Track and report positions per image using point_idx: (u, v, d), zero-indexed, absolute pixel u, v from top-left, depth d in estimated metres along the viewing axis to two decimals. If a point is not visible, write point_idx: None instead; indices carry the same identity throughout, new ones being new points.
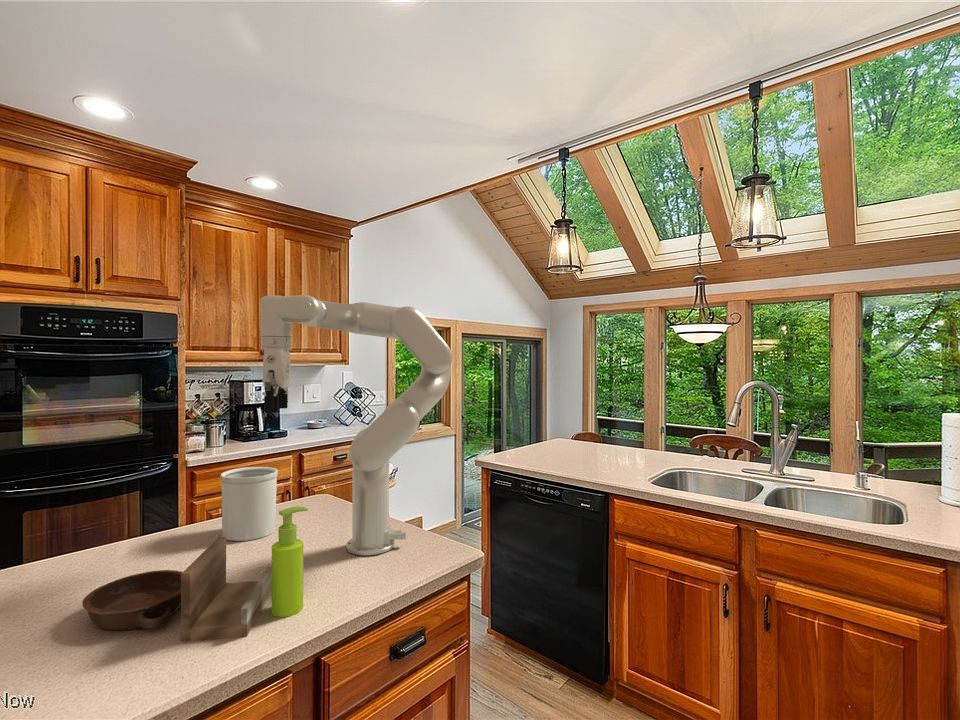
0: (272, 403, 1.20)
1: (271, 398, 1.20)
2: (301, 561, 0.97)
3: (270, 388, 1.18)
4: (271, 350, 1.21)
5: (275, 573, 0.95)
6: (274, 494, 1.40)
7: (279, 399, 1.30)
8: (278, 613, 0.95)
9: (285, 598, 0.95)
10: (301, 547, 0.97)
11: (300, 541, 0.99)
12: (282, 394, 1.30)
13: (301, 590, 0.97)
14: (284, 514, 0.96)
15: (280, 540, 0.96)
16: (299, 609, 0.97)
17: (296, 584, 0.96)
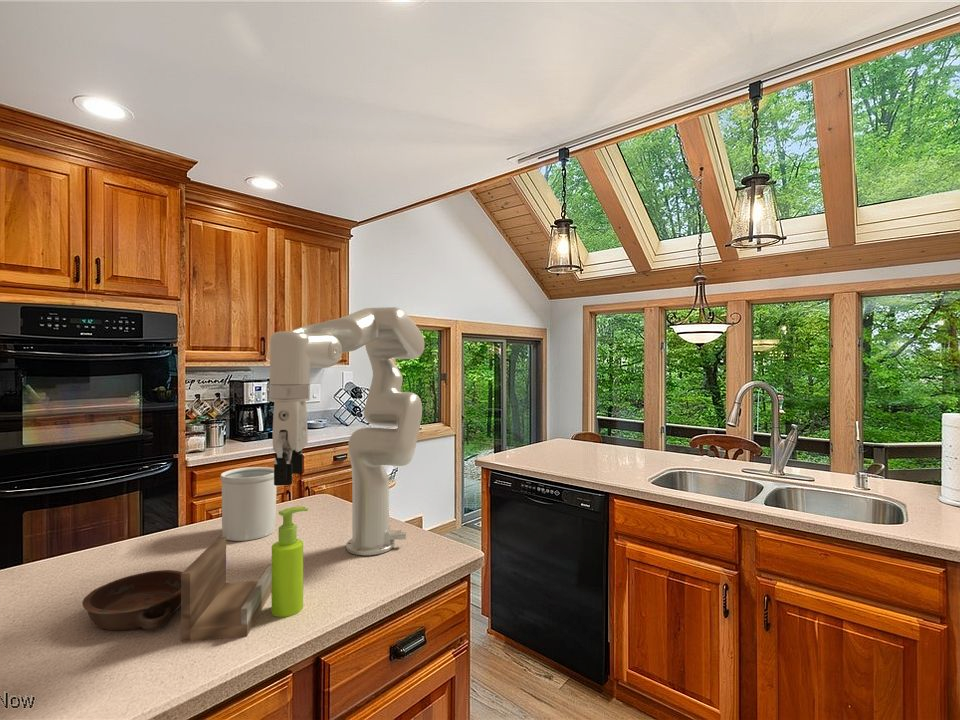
0: (284, 473, 0.92)
1: (283, 466, 0.92)
2: (301, 561, 0.97)
3: (282, 455, 0.90)
4: (284, 403, 0.93)
5: (275, 573, 0.95)
6: (274, 494, 1.40)
7: (292, 462, 1.02)
8: (278, 613, 0.95)
9: (285, 598, 0.95)
10: (301, 547, 0.97)
11: (300, 541, 0.99)
12: (296, 455, 1.02)
13: (301, 590, 0.97)
14: (284, 514, 0.96)
15: (280, 540, 0.96)
16: (299, 609, 0.97)
17: (296, 584, 0.96)
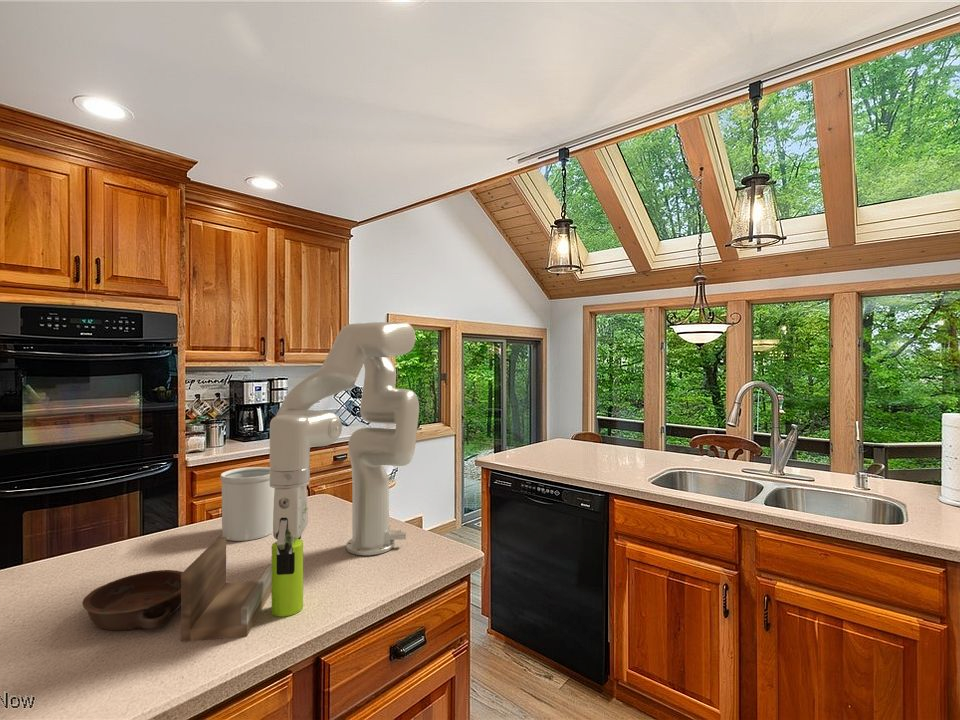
0: (287, 563, 0.94)
1: (286, 556, 0.93)
2: (301, 560, 0.97)
3: (285, 548, 0.92)
4: (284, 491, 0.93)
5: (275, 572, 0.95)
6: None
7: None
8: (278, 612, 0.95)
9: (285, 597, 0.95)
10: (301, 546, 0.97)
11: (300, 540, 0.99)
12: None
13: (301, 589, 0.97)
14: None
15: None
16: (299, 609, 0.97)
17: (296, 583, 0.96)
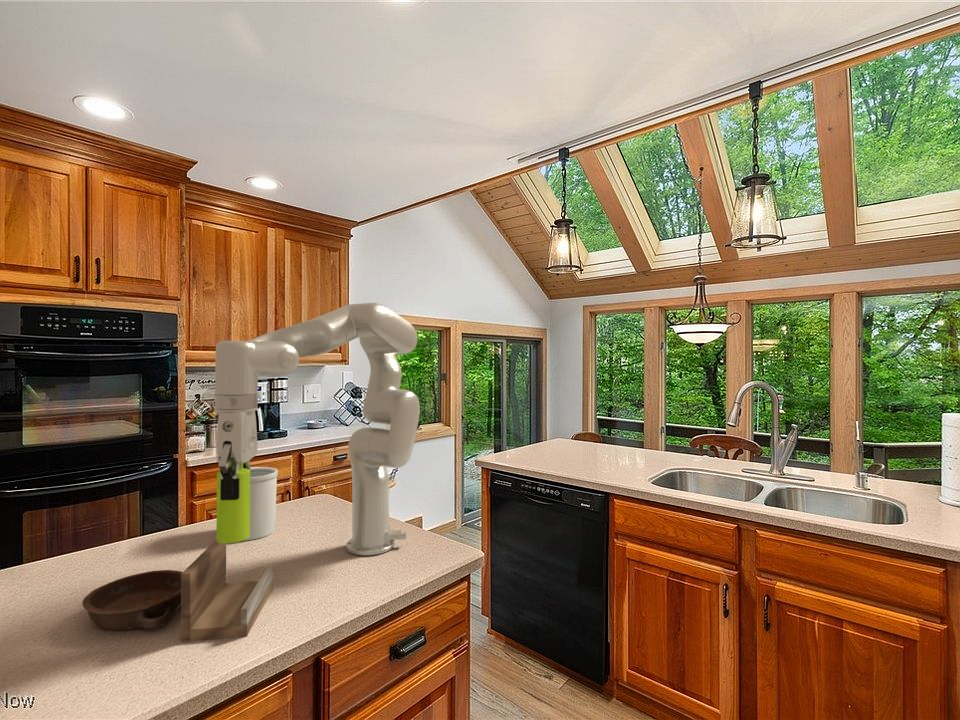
0: (231, 488, 0.92)
1: (229, 481, 0.92)
2: (247, 488, 0.96)
3: (227, 471, 0.90)
4: (228, 414, 0.92)
5: (219, 499, 0.93)
6: (274, 494, 1.40)
7: None
8: (222, 539, 0.93)
9: (229, 524, 0.93)
10: (247, 474, 0.96)
11: (247, 469, 0.97)
12: None
13: (247, 518, 0.96)
14: None
15: None
16: (245, 537, 0.95)
17: (241, 510, 0.94)
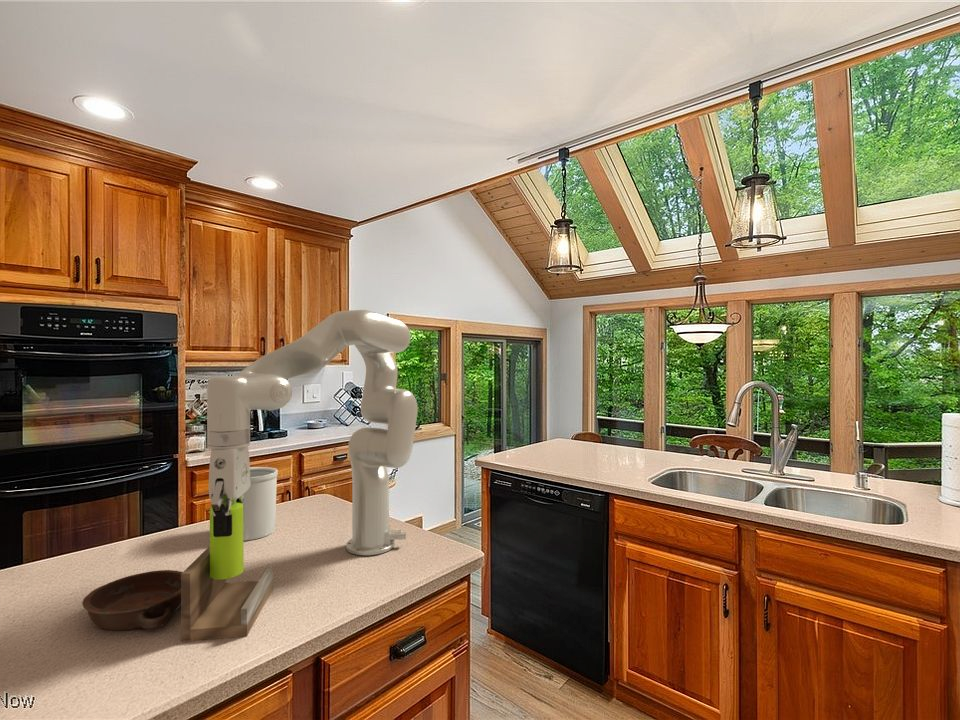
0: (224, 525, 0.92)
1: (222, 518, 0.92)
2: (240, 523, 0.96)
3: (220, 509, 0.90)
4: (220, 451, 0.92)
5: (212, 535, 0.93)
6: (274, 494, 1.40)
7: None
8: (215, 576, 0.93)
9: (222, 560, 0.93)
10: (240, 509, 0.96)
11: (240, 504, 0.97)
12: None
13: (240, 553, 0.96)
14: None
15: None
16: (238, 572, 0.95)
17: (234, 546, 0.94)
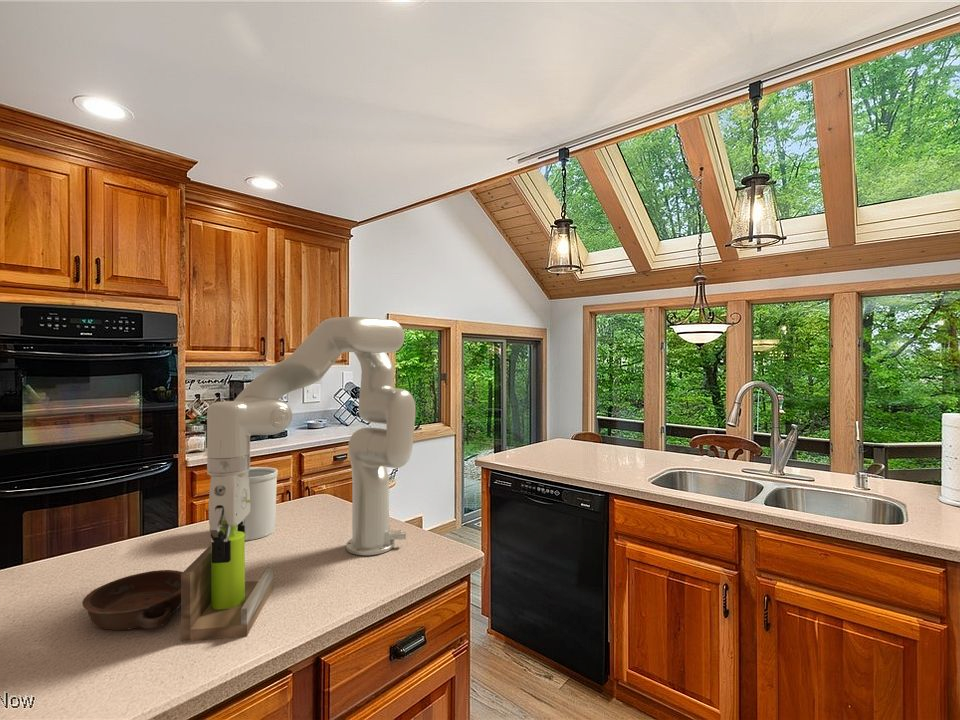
0: (222, 551, 0.91)
1: (220, 544, 0.91)
2: (242, 553, 0.96)
3: (218, 535, 0.89)
4: (220, 478, 0.92)
5: (214, 565, 0.94)
6: (274, 494, 1.40)
7: None
8: (217, 606, 0.93)
9: (224, 590, 0.93)
10: (242, 539, 0.96)
11: (241, 533, 0.97)
12: None
13: (242, 582, 0.96)
14: None
15: None
16: (239, 602, 0.95)
17: (236, 576, 0.95)
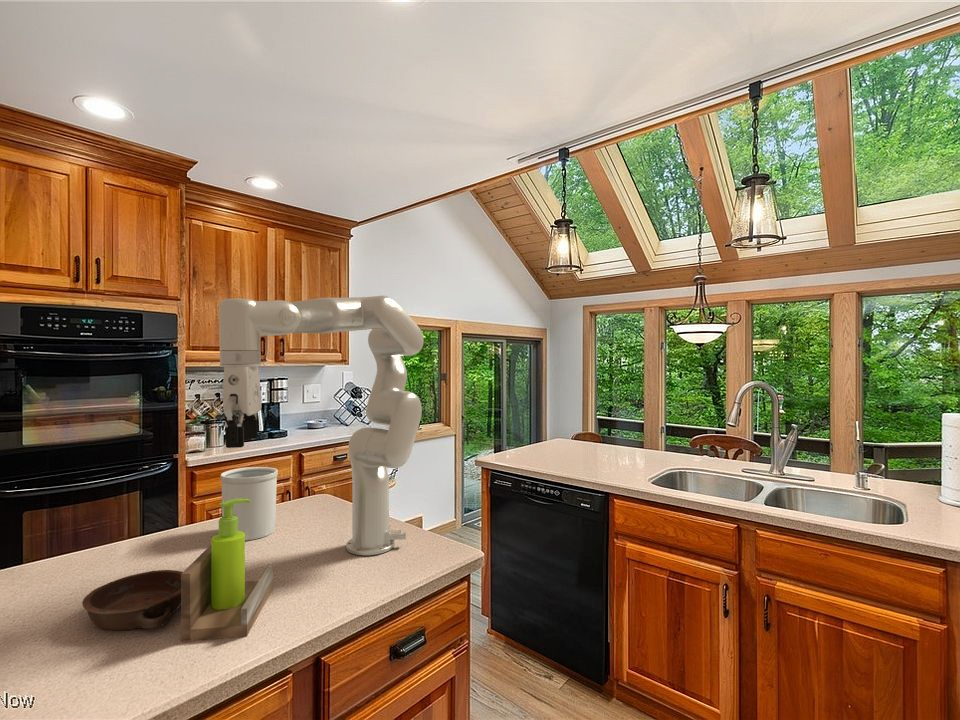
0: (236, 436, 0.94)
1: (234, 429, 0.94)
2: (242, 553, 0.96)
3: (232, 418, 0.93)
4: (233, 368, 0.95)
5: (214, 565, 0.94)
6: (274, 494, 1.40)
7: (247, 427, 1.04)
8: (217, 606, 0.93)
9: (224, 590, 0.93)
10: (242, 539, 0.96)
11: (242, 533, 0.97)
12: (250, 421, 1.05)
13: (242, 582, 0.96)
14: (224, 505, 0.95)
15: (220, 532, 0.95)
16: (239, 602, 0.95)
17: (236, 576, 0.95)
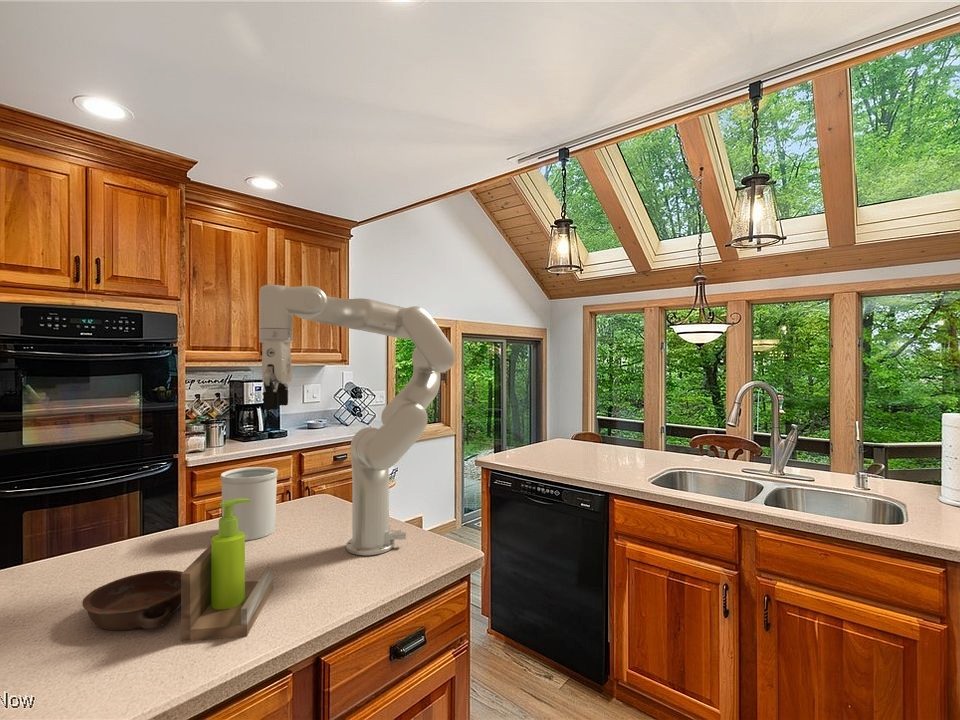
0: (272, 399, 1.12)
1: (270, 394, 1.12)
2: (242, 553, 0.96)
3: (269, 384, 1.11)
4: (271, 343, 1.14)
5: (214, 565, 0.94)
6: (274, 494, 1.40)
7: (279, 395, 1.22)
8: (217, 606, 0.93)
9: (224, 590, 0.93)
10: (242, 539, 0.96)
11: (242, 533, 0.97)
12: (282, 390, 1.23)
13: (242, 582, 0.96)
14: (224, 505, 0.95)
15: (220, 532, 0.95)
16: (239, 602, 0.95)
17: (236, 576, 0.95)
